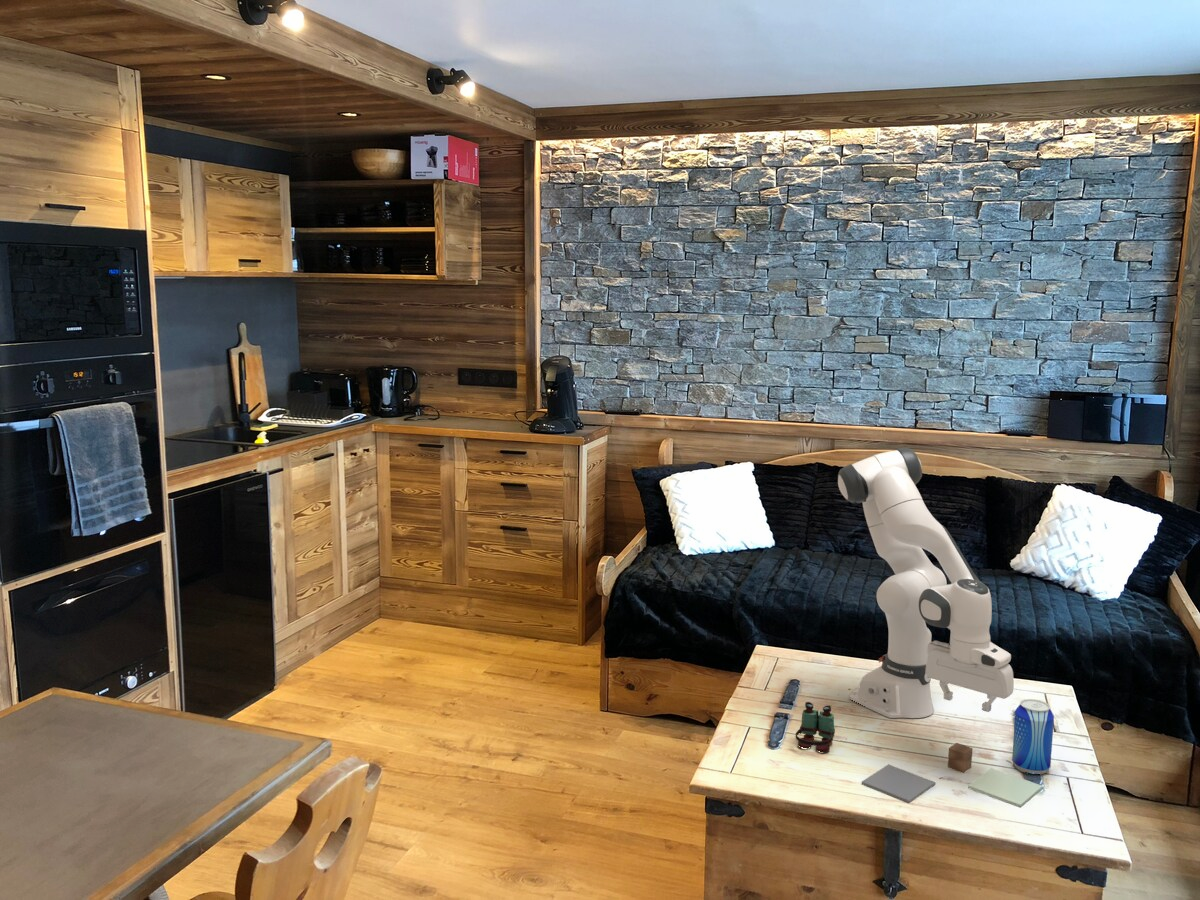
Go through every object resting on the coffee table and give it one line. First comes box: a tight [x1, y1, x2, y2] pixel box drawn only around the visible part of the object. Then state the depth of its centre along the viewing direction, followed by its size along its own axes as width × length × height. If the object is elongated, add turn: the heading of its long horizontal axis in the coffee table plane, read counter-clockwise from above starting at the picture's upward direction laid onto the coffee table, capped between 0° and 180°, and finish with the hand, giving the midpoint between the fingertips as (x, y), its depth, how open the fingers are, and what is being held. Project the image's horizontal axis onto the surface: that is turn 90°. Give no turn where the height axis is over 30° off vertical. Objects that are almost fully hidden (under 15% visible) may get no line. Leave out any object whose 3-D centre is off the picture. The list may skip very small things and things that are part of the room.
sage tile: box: [967, 767, 1044, 808], centre depth 223 cm, size 12×12×1 cm
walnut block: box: [947, 742, 973, 774], centre depth 232 cm, size 4×4×5 cm
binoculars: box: [795, 701, 836, 753], centre depth 242 cm, size 9×11×10 cm
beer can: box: [1011, 698, 1055, 775], centre depth 231 cm, size 8×8×16 cm
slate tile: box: [861, 764, 936, 804], centre depth 224 cm, size 12×12×1 cm
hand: (966, 704), depth 230 cm, fingers open, 8 cm apart
